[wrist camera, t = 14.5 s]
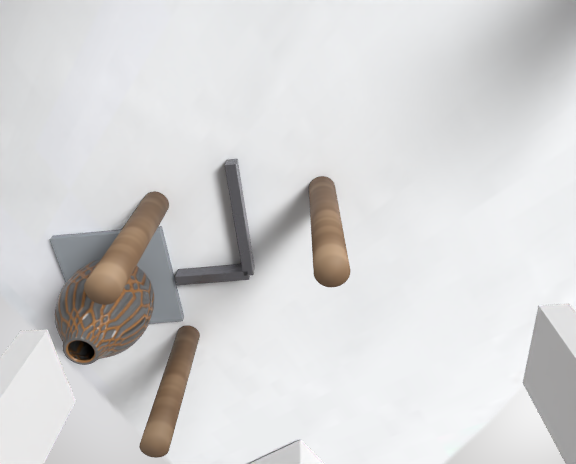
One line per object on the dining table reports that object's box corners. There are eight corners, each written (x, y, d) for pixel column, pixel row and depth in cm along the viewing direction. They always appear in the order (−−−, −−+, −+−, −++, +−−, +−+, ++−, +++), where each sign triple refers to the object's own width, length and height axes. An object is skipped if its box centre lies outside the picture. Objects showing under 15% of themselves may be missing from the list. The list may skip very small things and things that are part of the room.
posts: (140, 192, 38) (79, 276, 27) (334, 175, 37) (349, 254, 26) (179, 344, 45) (143, 458, 34) (344, 332, 44) (359, 445, 33)
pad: (53, 235, 40) (49, 239, 39) (161, 226, 39) (159, 229, 39) (85, 324, 44) (82, 328, 43) (184, 316, 43) (182, 321, 43)
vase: (176, 302, 42) (149, 376, 34) (104, 322, 43) (62, 398, 35) (139, 234, 39) (100, 298, 31) (64, 258, 40) (8, 325, 32)
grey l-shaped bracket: (153, 166, 37) (149, 172, 36) (237, 158, 37) (235, 164, 36) (180, 277, 42) (177, 285, 40) (255, 271, 41) (253, 279, 40)
